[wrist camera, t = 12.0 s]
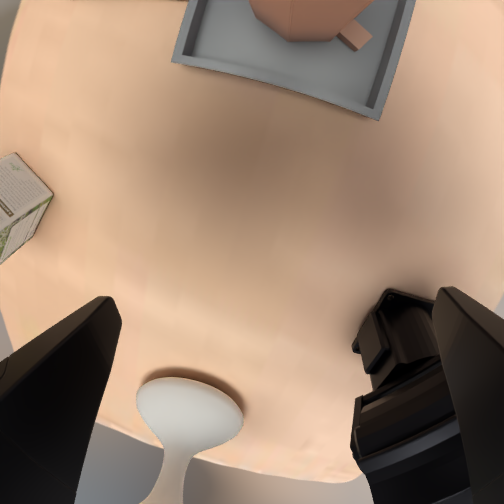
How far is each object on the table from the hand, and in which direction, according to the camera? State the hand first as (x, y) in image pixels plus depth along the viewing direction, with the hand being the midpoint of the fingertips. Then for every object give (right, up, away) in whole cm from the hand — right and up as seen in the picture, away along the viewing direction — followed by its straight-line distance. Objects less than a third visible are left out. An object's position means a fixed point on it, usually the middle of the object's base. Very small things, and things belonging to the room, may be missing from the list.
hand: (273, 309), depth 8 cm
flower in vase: (-6, -14, +23) cm, 28 cm away
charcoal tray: (+2, +16, +6) cm, 17 cm away
